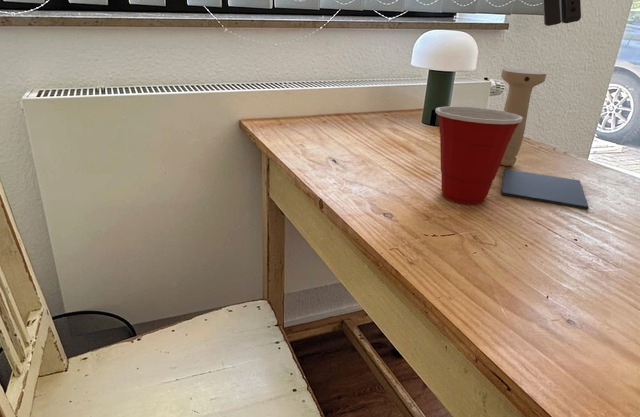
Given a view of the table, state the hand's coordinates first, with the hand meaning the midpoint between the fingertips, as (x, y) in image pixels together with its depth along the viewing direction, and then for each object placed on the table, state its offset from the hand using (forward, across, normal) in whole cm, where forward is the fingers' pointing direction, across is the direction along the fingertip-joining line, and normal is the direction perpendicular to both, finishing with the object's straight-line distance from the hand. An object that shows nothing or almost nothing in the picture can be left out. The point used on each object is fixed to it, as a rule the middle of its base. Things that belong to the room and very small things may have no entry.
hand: (561, 23), depth 66 cm
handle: (+21, +9, +8) cm, 24 cm away
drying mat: (+22, -1, +4) cm, 23 cm away
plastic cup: (+20, -8, +16) cm, 27 cm away
